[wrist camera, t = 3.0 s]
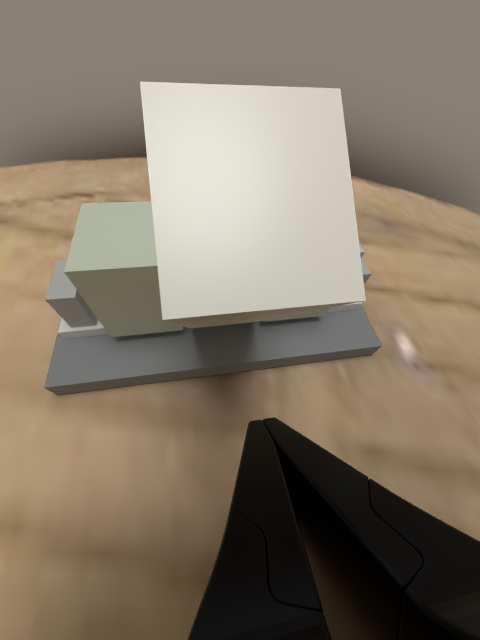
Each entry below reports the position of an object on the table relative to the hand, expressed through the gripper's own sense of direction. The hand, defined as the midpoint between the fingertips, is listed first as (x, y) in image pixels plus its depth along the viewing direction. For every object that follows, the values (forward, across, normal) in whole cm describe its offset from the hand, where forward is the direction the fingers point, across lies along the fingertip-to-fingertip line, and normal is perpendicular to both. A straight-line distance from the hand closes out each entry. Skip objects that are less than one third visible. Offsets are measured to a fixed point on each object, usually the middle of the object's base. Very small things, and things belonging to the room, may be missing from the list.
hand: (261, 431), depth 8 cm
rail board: (+13, 0, -1) cm, 13 cm away
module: (+11, 0, -4) cm, 11 cm away
